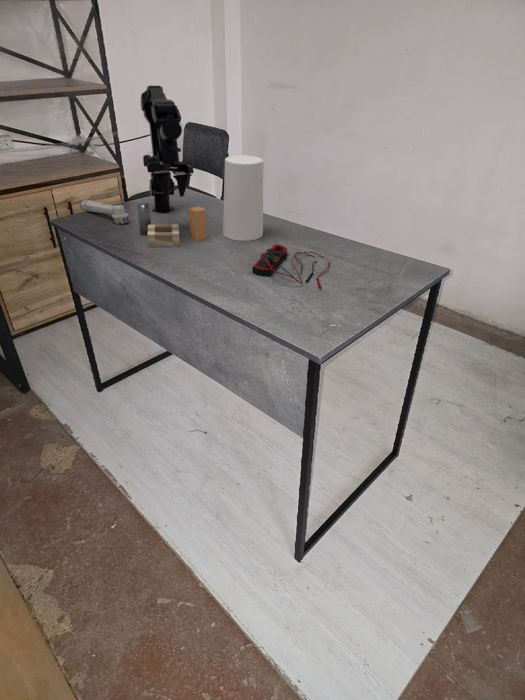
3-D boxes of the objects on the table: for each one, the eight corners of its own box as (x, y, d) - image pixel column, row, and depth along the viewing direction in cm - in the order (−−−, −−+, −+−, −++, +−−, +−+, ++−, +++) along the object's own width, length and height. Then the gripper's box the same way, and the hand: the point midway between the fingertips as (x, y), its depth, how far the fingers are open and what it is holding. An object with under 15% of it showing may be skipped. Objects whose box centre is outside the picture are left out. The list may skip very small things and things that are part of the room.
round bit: (143, 231, 162) (140, 202, 157) (154, 232, 161) (151, 203, 156) (138, 234, 159) (134, 205, 154) (148, 236, 158) (145, 206, 153)
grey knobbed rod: (88, 198, 180) (129, 202, 166) (92, 215, 183) (132, 221, 169) (76, 200, 176) (117, 205, 162) (81, 218, 179) (121, 224, 165)
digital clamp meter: (242, 264, 132) (271, 236, 151) (242, 279, 134) (270, 249, 154) (322, 279, 125) (341, 247, 145) (320, 293, 128) (339, 261, 148)
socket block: (149, 236, 158) (148, 224, 156) (178, 235, 160) (178, 224, 158) (148, 247, 150) (147, 235, 148) (179, 246, 152) (179, 234, 150)
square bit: (190, 237, 159) (189, 207, 154) (201, 235, 161) (200, 206, 155) (195, 240, 156) (194, 211, 151) (206, 239, 158) (205, 209, 153)
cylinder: (256, 165, 142) (215, 160, 146) (254, 243, 156) (216, 237, 160) (271, 157, 153) (232, 152, 157) (268, 230, 167) (232, 225, 171)
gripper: (163, 150, 159) (169, 198, 163) (129, 145, 142) (136, 198, 147) (191, 146, 154) (196, 196, 159) (159, 140, 138) (166, 195, 142)
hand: (174, 196), depth 152 cm, fingers open, 9 cm apart
